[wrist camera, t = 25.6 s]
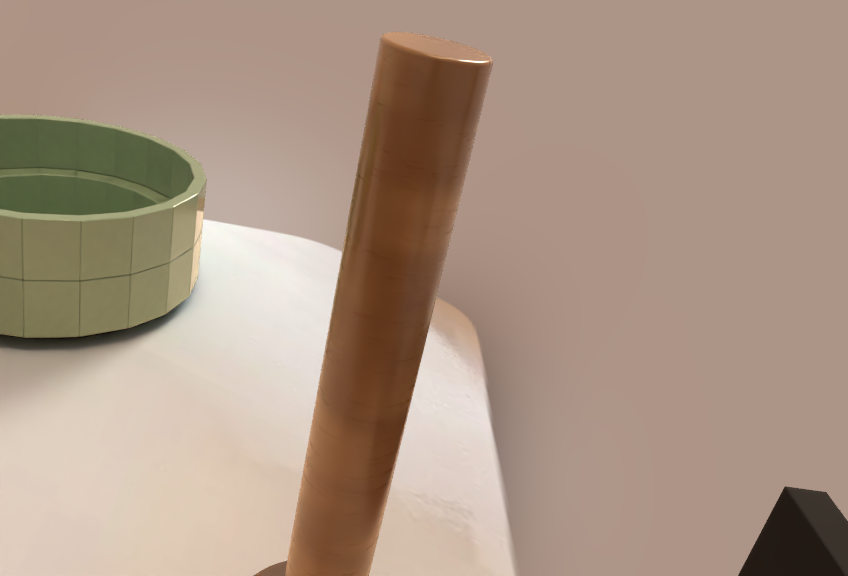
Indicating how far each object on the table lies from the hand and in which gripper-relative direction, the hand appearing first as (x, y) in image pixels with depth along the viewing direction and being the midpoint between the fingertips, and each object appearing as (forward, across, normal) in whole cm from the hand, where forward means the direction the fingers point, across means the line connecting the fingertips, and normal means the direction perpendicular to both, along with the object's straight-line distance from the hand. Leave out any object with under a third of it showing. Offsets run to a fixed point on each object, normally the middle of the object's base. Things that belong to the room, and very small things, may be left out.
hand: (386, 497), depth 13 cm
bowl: (+26, -14, -11) cm, 31 cm away
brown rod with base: (+6, 0, -11) cm, 13 cm away
